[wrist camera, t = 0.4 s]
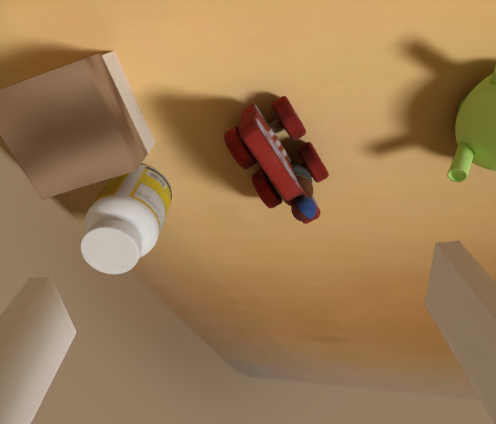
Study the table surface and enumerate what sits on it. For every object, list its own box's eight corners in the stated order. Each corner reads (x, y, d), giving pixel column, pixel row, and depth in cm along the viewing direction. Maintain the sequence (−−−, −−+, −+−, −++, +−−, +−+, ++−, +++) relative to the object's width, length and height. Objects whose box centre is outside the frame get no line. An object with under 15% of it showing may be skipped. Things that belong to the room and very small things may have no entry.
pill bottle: (105, 201, 41) (58, 265, 31) (124, 151, 39) (80, 204, 28) (160, 224, 43) (133, 293, 33) (182, 178, 40) (160, 237, 30)
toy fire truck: (277, 210, 42) (285, 267, 33) (215, 115, 37) (204, 152, 28) (334, 180, 40) (359, 231, 31) (276, 76, 35) (287, 102, 26)
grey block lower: (28, 81, 35) (4, 90, 32) (114, 50, 34) (99, 55, 31) (77, 166, 40) (61, 182, 36) (156, 141, 38) (146, 155, 35)
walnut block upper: (5, 87, 32) (-25, 98, 28) (100, 53, 31) (81, 59, 27) (61, 180, 36) (42, 199, 33) (148, 153, 35) (136, 170, 31)
